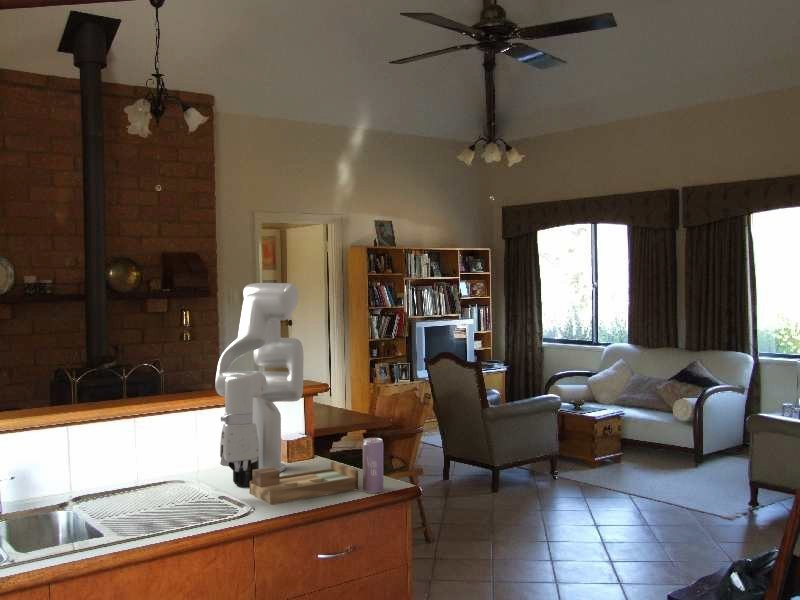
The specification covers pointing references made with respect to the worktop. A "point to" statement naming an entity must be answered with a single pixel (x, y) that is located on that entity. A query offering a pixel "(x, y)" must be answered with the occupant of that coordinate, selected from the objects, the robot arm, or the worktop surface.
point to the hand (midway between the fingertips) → (239, 484)
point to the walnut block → (266, 477)
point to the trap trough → (308, 484)
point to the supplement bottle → (250, 473)
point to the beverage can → (373, 465)
